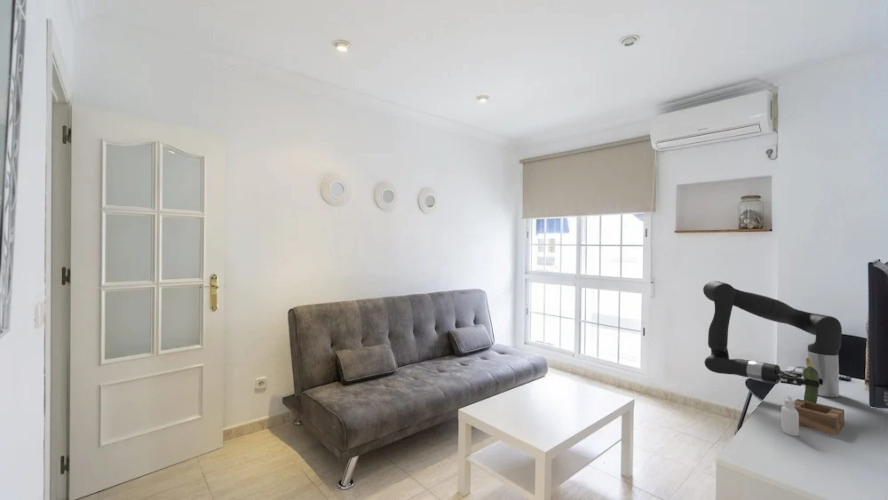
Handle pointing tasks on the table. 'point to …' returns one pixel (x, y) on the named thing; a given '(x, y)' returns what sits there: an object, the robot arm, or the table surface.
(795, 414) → the eye dropper bottle
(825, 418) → the socket
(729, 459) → the table surface
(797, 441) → the table surface
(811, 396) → the vegetable
